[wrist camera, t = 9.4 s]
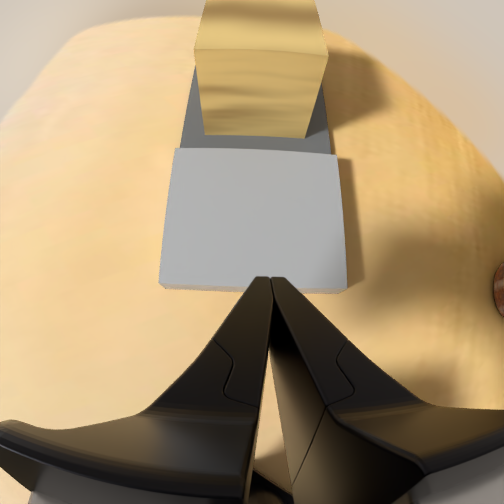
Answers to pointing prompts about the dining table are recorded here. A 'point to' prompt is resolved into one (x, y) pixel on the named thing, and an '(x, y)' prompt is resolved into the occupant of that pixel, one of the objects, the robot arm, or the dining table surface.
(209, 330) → the dining table surface
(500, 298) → the sauce bottle
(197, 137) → the rubber pad
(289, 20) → the ochre block
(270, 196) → the block
